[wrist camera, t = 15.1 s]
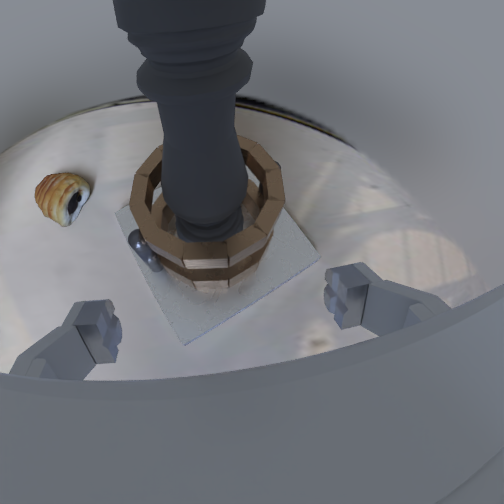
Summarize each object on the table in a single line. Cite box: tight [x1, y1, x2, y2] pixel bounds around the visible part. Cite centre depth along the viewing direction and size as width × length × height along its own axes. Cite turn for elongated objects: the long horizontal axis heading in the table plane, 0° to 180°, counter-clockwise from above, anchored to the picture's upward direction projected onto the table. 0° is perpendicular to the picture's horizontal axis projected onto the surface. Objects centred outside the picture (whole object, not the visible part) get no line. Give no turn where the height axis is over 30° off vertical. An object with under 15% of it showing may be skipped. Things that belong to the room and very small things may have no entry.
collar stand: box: [115, 135, 321, 346], centre depth 24 cm, size 16×16×10 cm
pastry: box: [35, 173, 90, 227], centre depth 28 cm, size 9×7×4 cm
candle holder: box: [113, 0, 266, 243], centre depth 16 cm, size 6×6×25 cm
